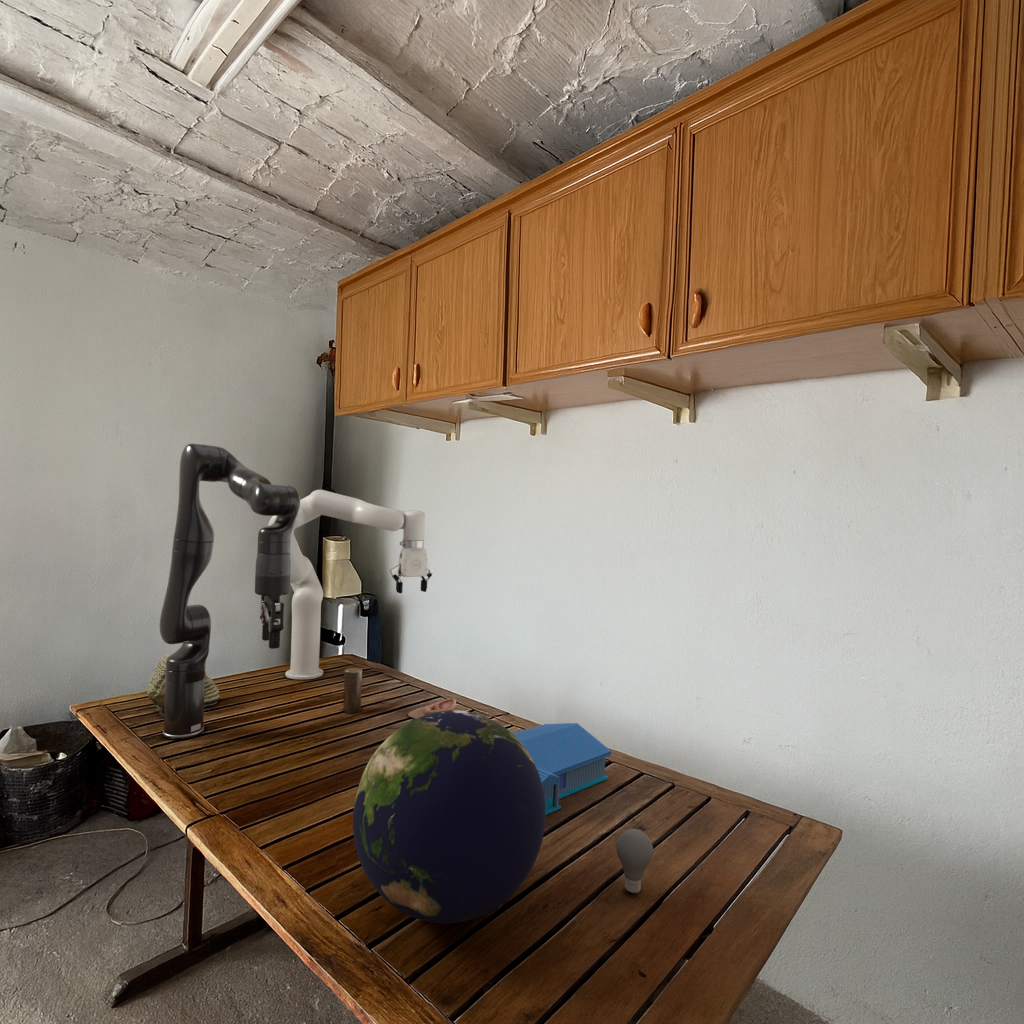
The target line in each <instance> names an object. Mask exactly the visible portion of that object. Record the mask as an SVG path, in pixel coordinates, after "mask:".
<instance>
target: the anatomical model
mask: <svg viewBox="0 0 1024 1024" xmlns="http://www.w3.org/2000/svg"><path fill="white" fill-rule="evenodd" d="M456 706H457V700H456V698H448V699H444V700H440V701H437V702H433V703H430V704H428V705H425V706H422V707H419V708H418V707H417V708H415V709H413V710H412V711H410V712H408V714H407V716H408V717H409V718H412V719H417V718H419V717H421V716H424V715H428V714H431V713H435V712H441V711H455V708H456Z"/></svg>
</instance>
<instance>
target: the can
mask: <svg viewBox="0 0 1024 1024" xmlns="http://www.w3.org/2000/svg"><path fill="white" fill-rule="evenodd" d="M362 683H363V669H362V668H360V667H348V668H346V669H344V684H343V685H344V686H343V707H342V712H343V713H346V714H357V713H359V712H361V711H362V707H361V706H362V688H363V687H362V685H363V684H362Z"/></svg>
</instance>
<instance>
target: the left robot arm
mask: <svg viewBox="0 0 1024 1024" xmlns="http://www.w3.org/2000/svg"><path fill="white" fill-rule="evenodd" d="M178 474H179V475H178V476H179V477H178V503H177V513H176V521H175V527H174V534H173V541H172V548H171V558H170V566H169V567H170V568H169V574H168V579H167V581H168V582H167V588H166V591H165V595H164V600H163V603H162V608H161V613H160V617H159V634H160V637H161V640H162V641H163V642H164V643H165V644H167V645H179V644H181V645H180V647H179V648H178V649H177V650H176V651H174V652H173V653H172V654H169V655H170V656H169V657H168V658H167V660H166V674H165V705H164V708H163V709H161V710H160V711H159V710H158V714H159V715H160V717H162V718H163V730H162V737H164V738H166V739H169V740H185V739H190V738H191V739H192V738H194V737H197V736H199V735H202V734H203V732H204V730H205V729H204V727H205V725H204V722H205V721H204V718H205V706H204V693H205V672H206V664H207V663H206V662H207V659H208V656H209V653H210V643H211V633H212V619H211V618H212V617H211V614H210V612H209V610H208V608H207V607H206V606H205V605H203V604H190V605H189V600H190V596H191V593H192V591H193V589H194V586H195V585H196V583H197V582H198V581H199V579H200V578H201V576H202V575H203V573H204V572H205V570H206V569H207V568H208V566H209V564H210V562H211V560H212V557H213V549H214V541H215V531H214V527H213V525H212V523H211V521H210V519H209V517H208V515H207V514H206V511H205V510H204V507H203V505H202V503H201V499H200V482H208V483H210V482H211V483H217V482H222V483H226V484H227V486H228V489H229V490H230V491H231V493H232V494H234V496H236V497H238V498H239V499H241V500H242V501H244V502H246V503H247V505H248V506H249V508H250V509H251V511H252V512H253V513H254V514H257V515H260V516H263V517H272V516H277V518H276V520H275V522H274V524H272V525H270V526H268V525H267V526H263V527H261V528H260V529H259V530H258V533H257V548H256V549H257V551H256V552H257V553H256V559H255V571H254V573H255V574H254V593H255V595H257V596H260V616H259V618H260V620H261V621H260V622H261V624H262V625H261V626H262V627H261V639H262V640H263V641H265V642H266V641H268V648H269V649H271V650H273V649H274V650H275V649H279V648H280V647H281V632H282V631H283V630H284V627H285V626H284V616H285V615H284V611H285V610H284V609H285V604H284V602H281V596H286V595H288V594H290V592H291V584H290V578H291V558H290V547H291V534H292V531H293V527H294V524H295V521H296V518H297V515H298V512H299V508H300V500H301V497H300V493H299V491H298V489H296V488H295V486H292V485H287V484H286V485H285V484H284V485H283V484H282V485H281V484H272V483H271V481H270V480H269V479H268V478H266V477H265V476H263V475H262V474H260V473H258V472H256V471H254V470H252V469H250V468H248V467H247V466H245V465H244V464H243V463H242V462H241V461H239V460H238V459H237V457H236V456H234V455H233V453H231V452H230V451H228V450H227V449H226V448H224V447H221V446H217V445H211V444H210V445H209V444H202V443H201V444H200V443H187V444H186V445H185V446H184V448H183V450H182V452H181V455H180V461H179V473H178ZM275 623H276V624H275Z"/></svg>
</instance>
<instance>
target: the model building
mask: <svg viewBox="0 0 1024 1024" xmlns="http://www.w3.org/2000/svg"><path fill="white" fill-rule="evenodd" d="M512 734H513V735H514V736H515V737H516V738H517V739H518V740H519V741H520V742H521V743H522V744H523V746H524V747H525V748H526V749H527V751H528V752H529V754H530V756H531V757H532V759H533V761H534V763H535V765H536V768H537V770H538V773H539V775H540V779H541V782H542V786H543V791H544V796H545V806H546V816H547V815H549V814H552V813H554V812H556V811H559V810H561V809H562V806H561V805H560V799H563V798H565V797H567V796H570V795H572V794H575V793H578V792H580V791H583V790H584V789H587V788H589V787H591V786H594V785H596V784H599V783H601V782H603V781H606V780H609V776H608V775H606V758H607V757H610V756H612V750H611V749H609V748H608V747H607V746H606V745H605V744H603V742H601V741H600V740H598V739H597V738H596V737H595V736H594V735H592V734H591V733H590V732H589V731H588V730H586V729H585V728H584V727H583V726H581V725H580V724H579V723H578V722H572V723H571V722H568V723H564V722H563V723H544V724H540V725H537V726H533V727H531V728H527V729H524V730H523V729H522V730H520V731H516V732H512Z"/></svg>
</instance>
